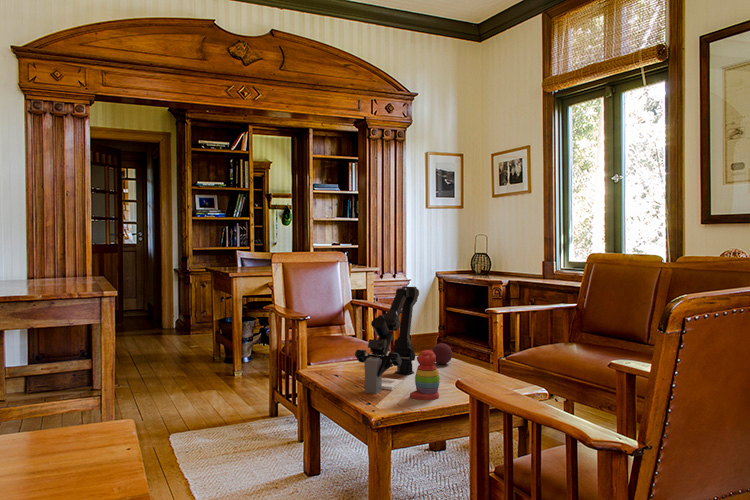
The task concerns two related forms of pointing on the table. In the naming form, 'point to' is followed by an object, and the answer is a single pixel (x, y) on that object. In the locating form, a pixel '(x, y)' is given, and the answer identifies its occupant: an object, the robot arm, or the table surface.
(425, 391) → the stacking bear
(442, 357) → the decorative ball
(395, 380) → the socket
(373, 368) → the plug
